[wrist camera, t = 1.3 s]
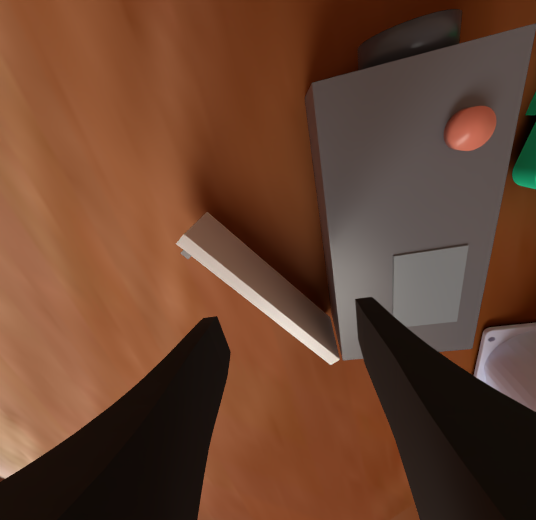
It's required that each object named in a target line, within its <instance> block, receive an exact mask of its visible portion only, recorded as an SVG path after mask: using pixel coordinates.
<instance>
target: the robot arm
mask: <svg viewBox="0 0 536 520" xmlns="http://www.w3.org/2000/svg"><path fill="white" fill-rule="evenodd" d="M355 304H356V318H357V333H358V341H359V345H360V348H361V352H362V355H363V359H364V362H365V365H366V368H367V370H368V373H369V375H370V378H371V380H372V383H373V385H374V388H375V390H376V392H377V395H378V397H379V400H380V402H381V405H382V407H383V410H384V412H385V414H386V417H387V419H388V422H389V424H390V427H391V430H392V432H393V435H394V438H395V440H396V443H397V447H398V450H399V453H400V456H401V459H402V463H403V466H404V469H405V472H406V475H407V478H408V482H409V485H410V488H411V492H412V495H413V498H414V501H415V505H416V508H417V511H418V514H419V518H420V520H536V323H527V324H517V325H507V326H497V327H489V328H486V329H485V330H484V331H483V335H482V339H481V344H480V349H479V353H478V358H477V362H476V367H475V372H474V376H473V375H472V374H470V373H468V372H467V371H465V370H464V369H462V368H461V367H459V366H458V365H456V364H455V363H453V362H452V361H450V360H449V359H448V358H446V357H445V356H443V355H442V354H440V353H439V352H438V351H436V350H435V349H434V348H432V347H431V346H430V345H428V344H427V343H426V342H424V341H423V340H422V339H421V338H419V337H418V336H417V335H415V334H414V333H413V332H412V331H411V330H409V329H408V328H407V327H406V326H404V325H403V324H402V323H401V322H400V321H399V320H397V319H396V318H395V317H394V316H393V315H392V314H391V313H389V312H388V311H387V310H386V309H385V308H384V307H383V306H382V305H381V304H380V303H379V302H378V301H376V300H375V299H374V298H373V297H366V298H358V299H355ZM230 353H231V352H230V349H229V347H228V344H227V341H226V339H225V336H224V333H223V331H222V328H221V325H220V323H219V320H218V318H217V316H216V317H208V318H203V319H202V320H201V321H200V322H199V323H198V324H197V325H196V326H195V327H194V328H193V329H192V330H191V331H190V332H189V333H188V334H187V335H186V336H185V337H184V338H183V339H182V341H181V342H180V343H179V344H178V345H177V346H176V347H175V348H174V349H173V350H172V351H171V352H170V353H169V354H168V355H167V356H166V357H165V358H164V359H163V360H162V361H161V362H160V363H159V364H158V365H157V366H156V367H155V368H154V369H153V370H152V371H150V372H149V373H148V374H147V375H146V376H145V377H144V378H143V379H142V380H141V381H140V382H139V383H138V384H137V385H135V386H134V387H133V388H132V389H131V390H130V391H128V392H127V393H126V394H125V395H124V396H123V397H121V398H120V399H119V400H118V401H117V402H115V403H114V404H113V405H112V406H110V407H109V408H108V409H106V410H105V411H104V412H103V413H101V414H100V415H99V416H97V417H96V418H95V419H93V420H92V421H91V422H89V423H88V424H87V425H85V426H84V427H83V428H81V429H80V430H79V431H77V432H76V433H75V434H73V435H72V436H70V437H69V438H67V439H66V440H65V441H63V442H62V443H60V444H59V445H57V446H56V447H54V448H53V449H51V450H50V451H48V452H47V453H45V454H44V455H42V456H41V457H39V458H38V459H36V460H35V461H33V462H32V463H30V464H29V465H27V466H26V467H24V468H22V469H21V470H19V471H18V472H16V473H14V474H13V475H11V476H9V477H8V478H6V479H4V480H3V481H1V482H0V520H197V518H198V511H199V504H200V498H201V491H202V485H203V479H204V473H205V467H206V461H207V456H208V450H209V445H210V441H211V437H212V432H213V429H214V425H215V421H216V418H217V414H218V410H219V406H220V403H221V399H222V395H223V391H224V387H225V384H226V380H227V375H228V368H229V361H230Z"/></svg>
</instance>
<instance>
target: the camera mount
mask: <svg viewBox="0 0 536 520" xmlns="http://www.w3.org/2000/svg"><path fill="white" fill-rule="evenodd" d="M525 115H530V116H536V92H535V95H534V97H533V99H532V101H531V103H530V105H529V108H528V110H527V112H526V114H525ZM512 177H513V180H514V182H515V183H516V184H518V185H520V186H524V187H528V188H533V189H536V122H535V124H534V126H533V128H532V131H531V133H530V135H529V137H528V139H527V141H526V143H525V145H524V147H523V149H522V151H521V153H520V155H519V157H518V159H517V162H516V164H515V166H514V168H513V172H512Z"/></svg>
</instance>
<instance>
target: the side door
mask: <svg viewBox="0 0 536 520" xmlns="http://www.w3.org/2000/svg"><path fill="white" fill-rule="evenodd" d="M176 244H177V245H178V246H179V247H181V248H182V249H183V251H182V252H181V254H182V255H183V256H184V257H186V258H187V259H189V258H190V257H191V256H192V257H193V258H195V259H196V260H197V261H199V262H200V263H201V264H202V265H204V266H205V267H206V268H207V269H209V270H210V271H211V272H213V273H214V274H215V275H216V276H218V277H219V278H220V279H222V280H223V281H224V282H225V283H227V284H228V285H229V286H230V287H232V288H233V289H234V290H236V291H237V292H238V293H239V294H241V295H242V296H243V297H245V298H246V299H247V300H248V301H250V302H251V303H252V304H253V305H255V306H256V307H257V308H259V309H260V310H261V311H262V312H264V313H265V314H266V315H267V316H269V317H270V318H271V319H273V320H274V321H275V322H276V323H278V324H279V325H280V326H282V327H283V328H284V329H285V330H287V331H288V332H289V333H290V334H292V335H293V336H294V337H296V338H297V339H298V340H299V341H301V342H302V343H303V344H305V345H306V346H307V347H308V348H310V349H311V350H312V351H313V352H315V353H316V354H317V355H319V356H320V357H321V358H322V359H324V360H325V361H326V362H327V363H329V364H330V365H332V364H333V363H335V362H337V361H338V360H340V358H339V354H338V350H337V345H336V341H335V337H334V332H333V328H332V324H331V319H330V317H329V316H328V315H327V314H326V313H325V312H323V311H322V310H321V309H320V308H319V307H318V306H316V305H315V304H314V303H313V302H312V301H311V300H309V299H308V298H307V297H306V296H305V295H304V294H302V293H301V292H300V291H299V290H298V289H297V288H295V287H294V286H293V285H292V284H291V283H290V282H288V281H287V280H286V279H285V278H284V277H283V276H281V275H280V274H279V273H278V272H277V271H276V270H274V269H273V268H272V267H271V266H270V265H269V264H267V263H266V262H265V261H264V260H263V259H262V258H260V257H259V256H258V255H257V254H256V253H255V252H254V251H252V250H251V249H250V248H249V247H248V246H247V245H245V244H244V243H243V242H242V241H241V240H240V239H238V238H237V237H236V236H235V235H234V234H233V233H231V232H230V231H229V230H228V229H227V228H226V227H224V226H223V225H222V224H221V223H220V222H219V221H217V220H216V219H215V218H214V217H213V216H212V215H210V214H209V213H208V212H206V213H205V214H204V215H203V216H202V217H201V218H200V219H199V220H198V221H197V222H196V223H195V224H194V225H193V226H192V227H191V228H190V229H189V230H188V231H187V232H186V233H185V234H184V235H183V236H182V237H181V238H180V239H179V241H178V242H177V243H176Z"/></svg>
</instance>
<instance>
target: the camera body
mask: <svg viewBox="0 0 536 520" xmlns="http://www.w3.org/2000/svg"><path fill="white" fill-rule="evenodd" d="M461 20H462V10H459V9H451V10H444V11H440V12H435V13H431V14H428V15H424V16H421V17H418V18H415V19H412V20H409V21H407V22H404V23H401V24H399V25H396V26H394V27H392V28H389V29H387V30H385V31H383V32H381V33H379V34H377V35H375V36H373V37H371V38H370V39H368V40H366V41H365V42H364V43H362V44H361V45H360V46H359V47H358V71H355V72H351V73H347V74H343V75H340V76H336V77H332V78H328V79H325V80H321V81H317V82H313V83H312V84H311V86H310V88H309V90H308V92H307V94H306V96H305V105H306V113H307V121H308V129H309V137H310V145H311V153H312V161H313V169H314V177H315V185H316V193H317V201H318V209H319V217H320V225H321V233H322V241H323V249H324V257H325V265H326V273H327V281H328V289H329V297H330V305H331V313H332V318H333V322H334V326H335V330H336V334H337V338H338V342H339V347H340V351H341V355H342V359H343V360H352V359H363V355H362V352H361V348H360V345H359V341H358V333H357V318H356V304H355V299H358V298H366V297H373V298H374V299H375V300H376V301H378V302H379V303H380V304H381V305H382V306H383V307H384V308H385V309H386V310H387V311H388V312H389V313H391V314H392V315H393V316H394V317H395V318H396V319H397V320H399V321H400V322H401V323H402V324H403V325H404V326H406V327H407V328H408V329H409V330H411V331H412V332H413V333H414V334H415V335H417V336H418V337H419V338H421V339H422V340H423V341H424V342H426V343H427V344H428V345H430V346H431V347H432V348H434V349H435V350H436V351H438V352H441V351H452V350H464V349H472V347H473V342H474V337H475V332H476V327H477V322H478V317H479V312H480V307H481V302H482V296H483V291H484V286H485V281H486V276H487V271H488V266H489V261H490V256H491V251H492V246H493V241H494V236H495V231H496V226H497V221H498V216H499V211H500V206H501V201H502V196H503V191H504V186H505V181H506V176H507V171H508V166H509V161H510V156H511V151H512V146H513V141H514V136H515V131H516V126H517V121H518V116H519V111H520V106H521V101H522V96H523V91H524V86H525V81H526V76H527V71H528V66H529V60H530V55H531V50H532V45H533V40H534V35H535V30H536V24H532V25H528V26H524V27H521V28H517V29H513V30H509V31H506V32H502V33H498V34H494V35H490V36H487V37H483V38H479V39H475V40H472V41H468V42H464V43H460V44H459V40H460V30H461Z"/></svg>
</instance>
